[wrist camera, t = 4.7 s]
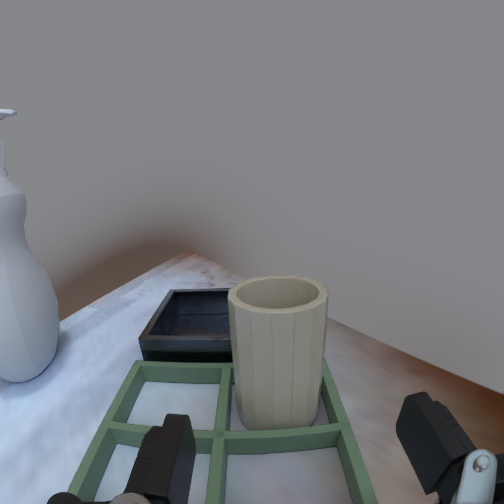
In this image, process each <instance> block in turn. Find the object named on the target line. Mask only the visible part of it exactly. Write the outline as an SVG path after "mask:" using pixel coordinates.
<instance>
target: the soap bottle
mask: <svg viewBox="0 0 504 504" xmlns="http://www.w3.org/2000/svg"><path fill="white" fill-rule="evenodd" d="M16 115H17V112H15V111H13V110H9V109H8V110H7V109H3V110H2V109H0V120H3V119H5V118H7V117H10V116H16ZM4 145H5V142H4V141H0V378H2V379H4V380H6V381H10V382H24V381H27V380H30V379H33V378H34V377H36V376H37V375H39V374H40V373H41V372H42V371H43V370H44V369H45V368H46V367H47V366H48V365H49V364H50V363H51V361H52V359H53V358H54V355H55V352H56V348H57V342H58V336H59V326H60V324H59V313H58V300H57V297H56V295H55V292H54V290H53V288H52V285H51V283H50V280H49V277H48V275H47V273H46V272H45V270H44V269H43V268H42V266H41V265H40V263H39V262H38V260H37V259H36V257H35V256H34V254H33V253H32V251H31V249H30V247H29V245H28V243H27V241H26V238H25V231H24V221H25V216H26V199H25V195H24V193H23V192H22V191H21V190H20V188H19V187H18V186H17V185H16V184H15V183H14V182H13V181H12V180H11V179H10V178H9V176H8V173H7V171H6V168H5V160H4V158H5V157H4V154H5V152H4V151H5V150H4V149H5V146H4Z"/></svg>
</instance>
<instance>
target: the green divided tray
mask: <svg viewBox="0 0 504 504" xmlns="http://www.w3.org/2000/svg"><path fill="white" fill-rule="evenodd" d="M144 381H156V382H174V383H212V384H220V388H219V396H218V404H217V412H216V420H215V428H214V431H208V430H193V434H194V438H195V443H196V453H207V454H211V460H210V468H209V477H208V485H207V494H206V503H205V504H224V494H225V479H226V464H227V454H261V453H279V452H291V451H302V450H311V449H318V448H326V447H332V446H337V447H338V451H339V454H340V458H341V461H342V465H343V468H344V472H345V475H346V479H347V482H348V486H349V489H350V493H351V497H352V500H353V504H378V503H377V500H376V497H375V494H374V491H373V488H372V485H371V482H370V479H369V477H368V474H367V471H366V468H365V465H364V462H363V459H362V457H361V454H360V451H359V448H358V445H357V443H356V440H355V437H354V434H353V432H352V429H351V426H350V423H349V421H348V418H347V415H346V413H345V410H344V407H343V405H342V402H341V399H340V397H339V394H338V391H337V389H336V386H335V383H334V381H333V378H332V376H331V373H330V370H329V368H328V365H327V363H326V360H325V357H324V363H323V374H322V383H321V394H322V397H323V401H324V404H325V407H326V411H327V414H328V417H329V420H330V424H325V425H317V426H309V427H299V428H288V429H273V430H252V431H229V422H230V408H231V395H232V383H235V377H234V367H233V363H179V362H154V361H137V360H136V361H135V362H134V364H133V366H132V368H131V370H130V371H129V373H128V375H127V377H126V378H125V380H124V382H123V384H122V386H121V388H120V389H119V391H118V393H117V395H116V397H115V398H114V400H113V402H112V404H111V406H110V408H109V410H108V411H107V413H106V415H105V417H104V419H103V421H102V423H101V425H100V427H99V428H98V430H97V432H96V434H95V436H94V438H93V440H92V442H91V444H90V446H89V448H88V450H87V452H86V454H85V456H84V458H83V460H82V462H81V464H80V466H79V468H78V470H77V472H76V474H75V476H74V478H73V480H72V482H71V484H70V487H69V489H68V491H67V492H68V493H71V494H74V495H76V496H77V497H78V498H79V499H80V500H81V501H83V502H92V501H93V498H94V496H95V493H96V491H97V488H98V486H99V484H100V481H101V479H102V476H103V474H104V471H105V469H106V467H107V464H108V462H109V460H110V457H111V455H112V453H113V450H114V448H115V446H116V443H118V444H124V445H129V446H136V447H141V443H142V440H143V438H144V435H145V434H146V433H147V432H148V431H149V430H150V429H151V428H152V427H151V426H143V425H135V424H128V423H126V421H127V418H128V416H129V414H130V412H131V410H132V407H133V405H134V403H135V401H136V399H137V396H138V394H139V392H140V390H141V388H142V386H143V383H144Z"/></svg>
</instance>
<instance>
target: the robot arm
mask: <svg viewBox="0 0 504 504" xmlns="http://www.w3.org/2000/svg"><path fill="white" fill-rule="evenodd" d="M396 433H397V436H398V438H399V440H400V442H401V444H402V446H403V448H404V450H405V452H406V454H407V456H408V458H409V460H410V462H411V464H412V466H413V469H414V471H415V473H416V475H417V477H418V479H419V481H420V483H421V485H422V487H423V489H424V492H425V494H426V495H428V494H430V493H433V492H435V491H437V493H438V496H437V498H436V500H435V503H434V504H504V453H503V454H498V455H494V454H493V453H491V452H490V451H488V450H484V449H478V450H477V449H476V447H475V446H474V445H473V443H472V442H471V440H470V439H469V438H468V436H467V435H466V433H465V432H464V431H463V429H462V428H461V426H460V425H459V424H458V422H457V421H456V419H455V418H454V417H453V415H452V414H451V413H450V411H449V410H448V409H447V407H446V406H444V405H443V404H441V403H440V402H438V401H432V399H431V398H430V396H429V395H428V394H427V393H426V392H420V393H416V394H412V395H408V396H406V397H405V399H404V402H403V405H402V408H401V411H400V414H399V417H398V419H397V422H396ZM195 455H196V443H195V438H194V434H193V430H192V426H191V422H190V418H189V416H188V415H180V414H167V415H166V417H165V420H164V423H163V426H162V427H160V426H153V427H152V428H151V429H150V430H149V431H148V432H147V433H146V434H145V435H144V438H143V440H142V443H141V448H140V449H139V451H138V454H137V457H136V460H135V463H134V466H133V468H132V471H131V474H130V477H129V480H128V483H127V486H126V488H125V490H124V492H123V493H122V494H120V495H118V496H116V497H115V498H113V499H112V500H111V501H106V502H83V501H81V500H80V499H79V498H78V497H77V496H76V495H74V494H71V493H68V492H61V493H57V494H55V495H53V496H52V497H51V498H50V499H49V500H48V502H47V504H187V503H188V497H189V491H190V485H191V479H192V473H193V467H194V461H195Z"/></svg>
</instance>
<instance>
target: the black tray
mask: <svg viewBox="0 0 504 504" xmlns="http://www.w3.org/2000/svg"><path fill="white" fill-rule="evenodd" d="M229 289H231V288H216V289H179V290H170V291H169V292H168V294H167V295H166V297H165V298H164V300H163V301H162V303H161V304H160V306H159V307H158V309H157V310H156V312H155V313H154V315H153V316H152V318H151V319H150V321H149V323H148V324H147V326H146V327H145V329H144V330H143V332H142V333H141V335H140V337H139V338H138V339H139V344H140V348H141V352H142V356H143V360H144V361H154V362H179V363H233V356H232V345H231V334H230V322H229V309H228V292H229Z"/></svg>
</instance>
